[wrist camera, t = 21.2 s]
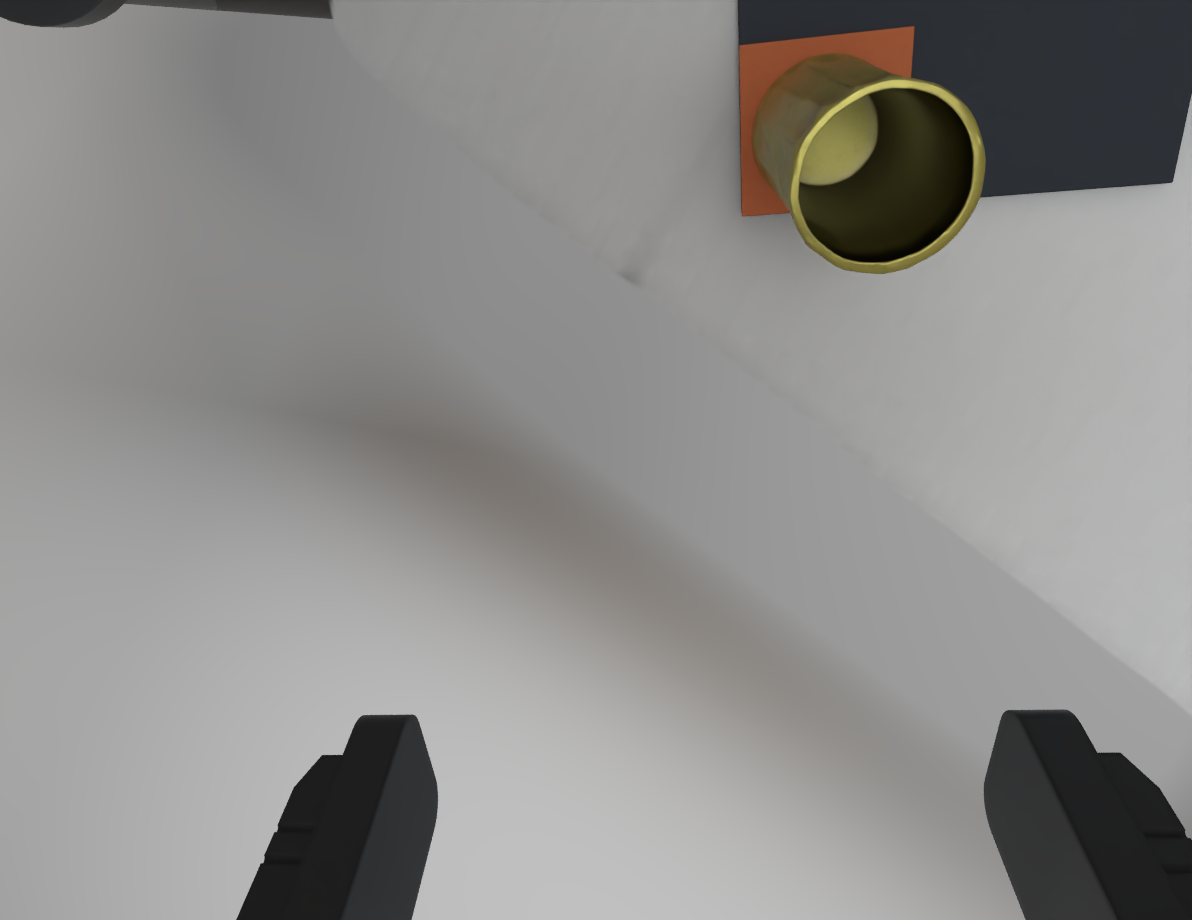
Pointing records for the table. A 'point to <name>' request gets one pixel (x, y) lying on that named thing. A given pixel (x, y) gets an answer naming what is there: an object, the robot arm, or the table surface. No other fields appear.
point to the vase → (869, 161)
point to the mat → (1001, 80)
